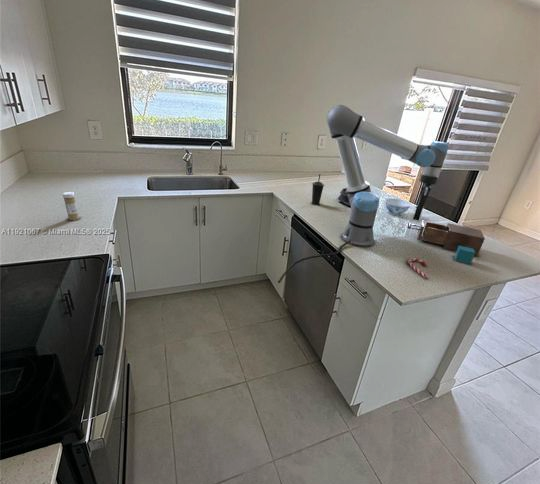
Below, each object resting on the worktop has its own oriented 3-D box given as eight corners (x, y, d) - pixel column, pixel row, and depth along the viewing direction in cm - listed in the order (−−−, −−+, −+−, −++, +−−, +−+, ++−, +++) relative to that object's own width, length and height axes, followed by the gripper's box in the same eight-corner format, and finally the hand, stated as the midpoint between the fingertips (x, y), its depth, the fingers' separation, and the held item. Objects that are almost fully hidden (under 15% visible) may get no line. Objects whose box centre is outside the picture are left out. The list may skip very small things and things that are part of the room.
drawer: (405, 237, 151) (409, 223, 147) (405, 230, 159) (409, 217, 156) (446, 246, 144) (452, 232, 140) (445, 239, 152) (450, 225, 149)
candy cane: (418, 274, 116) (405, 256, 130) (417, 277, 117) (404, 259, 131) (437, 277, 116) (422, 258, 130) (436, 279, 117) (421, 260, 130)
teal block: (470, 264, 131) (475, 252, 128) (455, 260, 133) (459, 249, 130) (468, 260, 134) (473, 248, 132) (454, 256, 137) (458, 245, 134)
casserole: (333, 196, 210) (335, 185, 207) (358, 197, 211) (361, 186, 208) (342, 208, 188) (344, 195, 184) (370, 210, 189) (373, 197, 185)
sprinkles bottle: (78, 216, 146) (72, 190, 141) (80, 219, 143) (74, 193, 138) (67, 218, 144) (61, 192, 138) (69, 221, 141) (62, 194, 135)
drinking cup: (313, 201, 197) (317, 172, 188) (323, 204, 193) (328, 174, 184) (307, 203, 191) (311, 173, 183) (317, 206, 187) (322, 176, 179)
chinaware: (411, 219, 179) (414, 207, 176) (387, 217, 179) (390, 205, 175) (401, 210, 192) (404, 199, 189) (379, 208, 192) (382, 197, 189)
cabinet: (443, 248, 144) (449, 230, 140) (441, 239, 154) (447, 223, 149) (477, 256, 139) (485, 238, 134) (473, 246, 148) (480, 229, 144)
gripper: (439, 179, 133) (423, 225, 143) (438, 173, 144) (423, 217, 154) (421, 176, 136) (407, 221, 146) (421, 171, 147) (408, 214, 157)
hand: (415, 219), depth 150 cm, fingers closed
